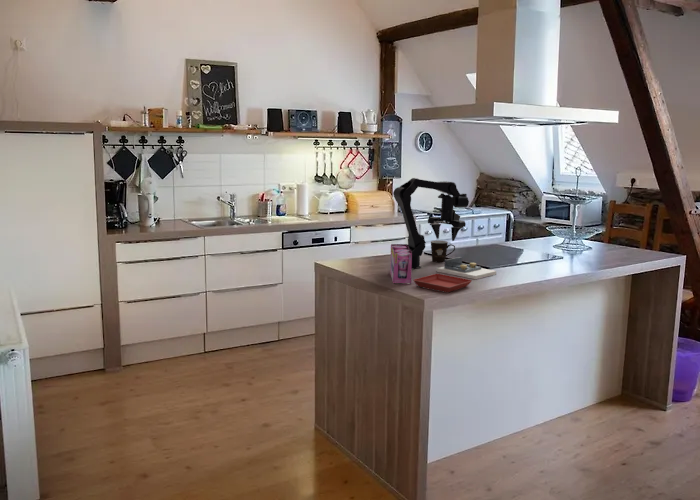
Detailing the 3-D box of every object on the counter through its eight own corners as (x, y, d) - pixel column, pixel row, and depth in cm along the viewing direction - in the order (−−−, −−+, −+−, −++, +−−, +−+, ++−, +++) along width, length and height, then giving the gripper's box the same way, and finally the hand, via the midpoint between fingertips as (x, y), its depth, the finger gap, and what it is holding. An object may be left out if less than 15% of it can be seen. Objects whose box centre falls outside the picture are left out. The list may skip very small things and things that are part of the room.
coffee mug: (427, 261, 314) (428, 242, 312) (433, 259, 321) (434, 239, 320) (449, 264, 309) (450, 244, 307) (455, 261, 316) (456, 241, 314)
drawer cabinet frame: (465, 272, 283) (465, 263, 282) (444, 268, 291) (444, 259, 290) (481, 269, 291) (481, 260, 290) (460, 265, 299) (460, 256, 299)
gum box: (411, 285, 265) (412, 253, 262) (393, 285, 265) (393, 253, 262) (407, 273, 288) (407, 243, 286) (389, 272, 288) (390, 243, 286)
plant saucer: (472, 287, 263) (472, 279, 263) (448, 295, 250) (449, 286, 249) (436, 280, 275) (436, 273, 274) (412, 287, 262) (412, 279, 261)
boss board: (475, 279, 277) (475, 270, 276) (436, 271, 292) (436, 262, 292) (496, 274, 287) (496, 265, 287) (457, 266, 303) (457, 258, 302)
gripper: (473, 208, 301) (470, 240, 304) (441, 205, 314) (439, 235, 317) (459, 209, 294) (457, 242, 296) (427, 206, 306) (426, 237, 309)
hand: (445, 239), depth 305 cm, fingers open, 9 cm apart
